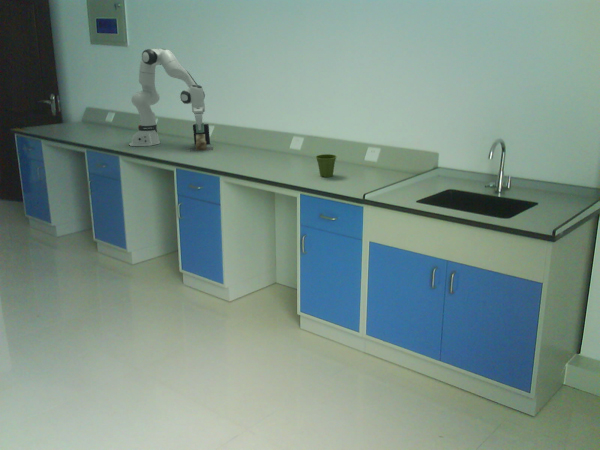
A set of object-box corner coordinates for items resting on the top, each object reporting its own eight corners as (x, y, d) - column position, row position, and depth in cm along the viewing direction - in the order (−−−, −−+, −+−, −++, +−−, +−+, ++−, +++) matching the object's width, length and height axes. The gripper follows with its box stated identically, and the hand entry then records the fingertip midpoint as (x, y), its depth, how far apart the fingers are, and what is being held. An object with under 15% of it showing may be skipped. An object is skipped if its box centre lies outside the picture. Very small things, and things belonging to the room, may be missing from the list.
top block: (196, 143, 419) (195, 135, 417) (196, 141, 425) (196, 134, 423) (205, 142, 420) (204, 135, 418) (205, 141, 425) (204, 134, 424)
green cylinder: (196, 133, 417) (195, 124, 415) (196, 131, 422) (195, 123, 420) (204, 132, 418) (203, 123, 416) (204, 131, 423) (203, 122, 421)
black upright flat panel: (210, 144, 444) (208, 123, 439) (209, 145, 440) (207, 124, 435) (195, 144, 445) (194, 123, 441) (194, 145, 441) (192, 124, 437)
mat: (189, 152, 417) (189, 151, 417) (190, 148, 429) (190, 148, 428) (212, 150, 419) (212, 150, 419) (213, 147, 430) (213, 147, 430)
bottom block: (196, 150, 420) (195, 143, 418) (196, 148, 427) (196, 141, 425) (206, 149, 421) (205, 142, 419) (206, 147, 427) (206, 141, 426)
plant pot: (312, 175, 344) (311, 155, 340) (329, 172, 349) (329, 153, 346) (323, 179, 334) (323, 159, 330) (341, 176, 339) (340, 156, 336)
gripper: (194, 107, 424) (196, 127, 429) (193, 111, 405) (194, 131, 409) (203, 107, 425) (205, 126, 429) (202, 110, 406) (204, 131, 410)
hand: (200, 129), depth 419 cm, fingers closed on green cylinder, 5 cm apart
